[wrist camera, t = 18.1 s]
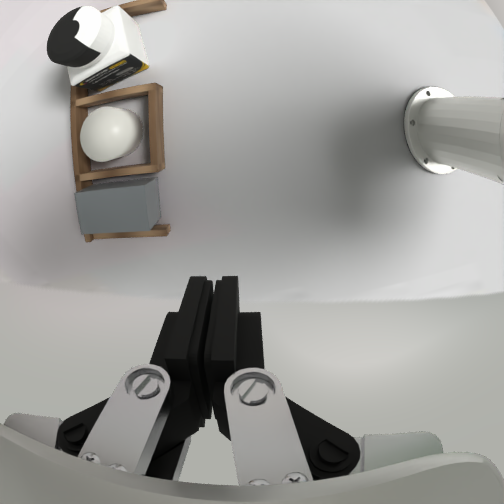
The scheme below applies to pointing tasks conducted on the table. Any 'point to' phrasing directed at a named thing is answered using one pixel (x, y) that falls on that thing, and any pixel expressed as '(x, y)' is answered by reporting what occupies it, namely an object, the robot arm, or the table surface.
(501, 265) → the table surface
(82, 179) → the wooden compartment tray
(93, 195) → the grey rectangular block
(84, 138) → the white rounded lump
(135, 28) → the medicine bottle
